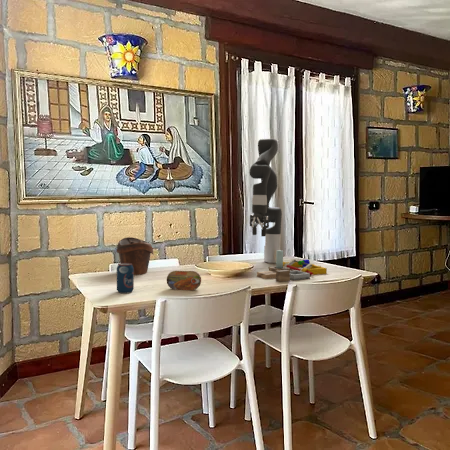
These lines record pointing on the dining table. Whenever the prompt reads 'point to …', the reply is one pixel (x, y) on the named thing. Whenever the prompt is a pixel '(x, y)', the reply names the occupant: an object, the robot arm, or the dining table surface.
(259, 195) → the robot arm
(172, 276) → the tin
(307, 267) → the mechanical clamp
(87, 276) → the dining table surface
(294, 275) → the tray
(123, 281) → the soda can
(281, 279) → the bench dog
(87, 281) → the dining table surface
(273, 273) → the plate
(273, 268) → the socket block
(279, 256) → the dowel
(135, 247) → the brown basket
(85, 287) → the dining table surface
